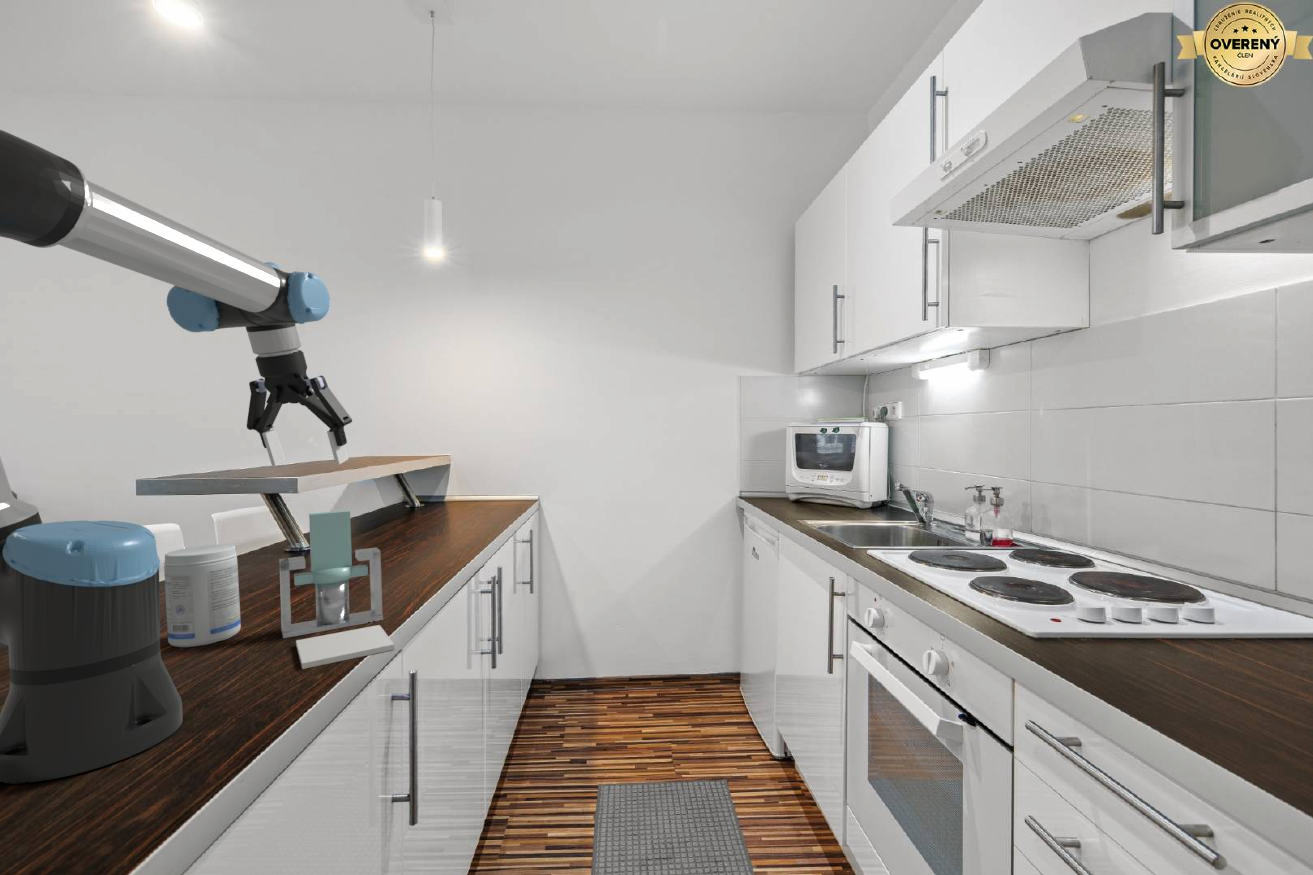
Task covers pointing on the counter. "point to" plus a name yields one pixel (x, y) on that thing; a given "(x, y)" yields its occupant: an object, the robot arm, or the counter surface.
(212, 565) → the supplement tub
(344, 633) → the pad
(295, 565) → the grey open frame
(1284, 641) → the counter surface
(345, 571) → the mint inverted t-block
